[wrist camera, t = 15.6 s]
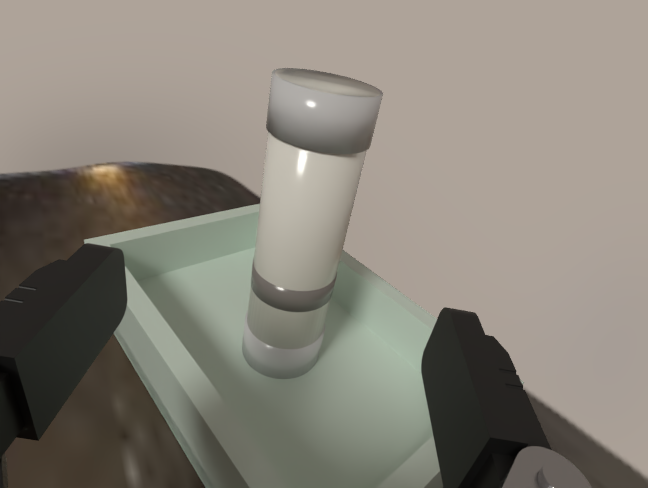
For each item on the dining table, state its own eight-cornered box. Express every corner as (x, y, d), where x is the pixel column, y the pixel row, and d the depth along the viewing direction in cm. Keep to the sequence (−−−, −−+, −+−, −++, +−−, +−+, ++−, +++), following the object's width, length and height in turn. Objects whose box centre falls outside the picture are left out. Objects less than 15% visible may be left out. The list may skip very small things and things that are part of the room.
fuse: (227, 338, 23) (249, 66, 15) (287, 312, 25) (331, 70, 18) (271, 392, 20) (323, 98, 13) (334, 357, 23) (405, 97, 16)
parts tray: (91, 296, 25) (83, 239, 23) (269, 245, 33) (275, 200, 31) (299, 645, 13) (321, 595, 11) (491, 433, 22) (524, 382, 20)
